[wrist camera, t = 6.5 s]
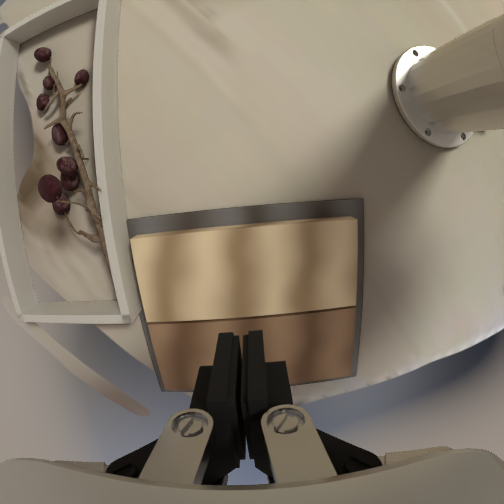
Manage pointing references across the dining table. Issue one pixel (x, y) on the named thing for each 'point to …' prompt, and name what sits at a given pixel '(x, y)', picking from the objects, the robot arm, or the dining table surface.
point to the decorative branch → (67, 166)
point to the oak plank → (247, 269)
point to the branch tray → (107, 170)
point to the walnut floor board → (258, 218)
